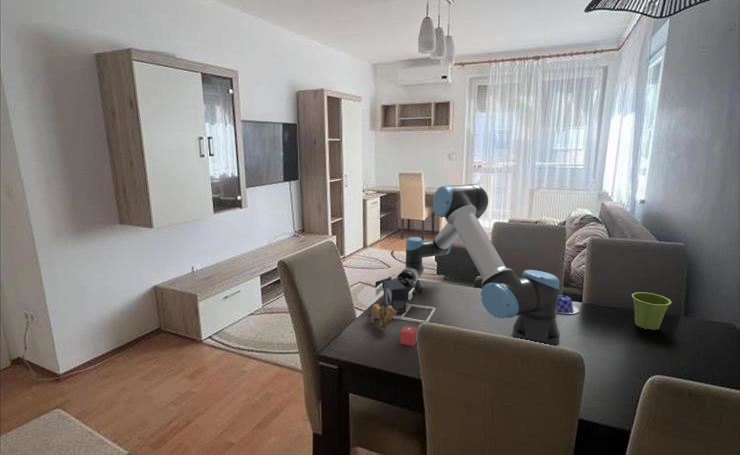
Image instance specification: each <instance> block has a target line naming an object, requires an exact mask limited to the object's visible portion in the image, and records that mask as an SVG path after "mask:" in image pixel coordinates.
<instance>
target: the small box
mask: <svg viewBox="0 0 740 455" xmlns="http://www.w3.org/2000/svg"><path fill="white" fill-rule="evenodd" d="M394 279H395V278H394ZM383 282H384V289H383V305H385V307H386V306H392V308H393V309H394V310H395V311H397V312H396V314H399V313H406V303H407V288H406V287H405V286H404V285H403V284H402V283H401V282H399V281H398V280H397V279H395V280H387V281H383ZM406 314H407V313H406Z"/></svg>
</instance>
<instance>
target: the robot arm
mask: <svg viewBox="0 0 740 455" xmlns="http://www.w3.org/2000/svg"><path fill="white" fill-rule="evenodd" d="M432 201H433V202H432V204H433V205H432V207H433V211H434V213H435V215H436V217H440V218H444V219H445V220H446V222H447V223H446V224H445V225H444V226H443V228H442V229H441V231H439V232H438V234H437V235H436V236H435V237H434V238H433V239H432V240H423V239H422V238H421V237H417V236H415V237H414V236H411V237H408V238H407V239H406V242H405V268H403V270H401V272H399V273H398V275H397V277H395V278H392V276H389V277H387V278H384V279H380V280H377V281H375V284H374V285H375V286H374V288H375V296H378V295H379V294H380V293H381V292H382V291H384V282H383V281H387V280H395V279H397V280H398V281H399V282H401V283H402V284H403V285H404V286H405V287H406V290H409V292H408V295H407V296H408V297H407V298H408V301H411V299H412V298H413V297H416V295H418V294H420V295H423V290H424V288H423V286H422V285H421V283H420V282H421V281H420V280H418V279H419V278H420V277H422V275H423V273H424V270H425V268H424V265H423V259H424V258H429V257H438V256H439V257H440V256H444V255H448V254H449V253H451V249H452V244H454V242H455V241H456V240H457V238H460V239H461V241H462V244H463V245H464V248H465V249H466V251H467V252H468V255H469V256H470V258H471V259H472V261H473V264H474V265H475V267H476V268H477V271H478V273H479V274H480V277H481V278H482V282H481V285H480V286H481V290H480V296H481V298H480V299H481V303H482V306H483V307H484V309H485V310H486V311H487V312H488V313H489V314H490V315H491V316H492V317H494V318H497V319H511V318H514V317H515V316H517V318H516V320H515V322H514V324H513V327H512V335H513V337H514V338H515V339H516V338H520V339H525V340H530V341H534V342H539V343H544V344H549V345H554V346H556V345H558V344H559V342H560V336H561V335H560V334H561V333H560V330H559V324H558V321H557V313H558V311H557V303H558V295H560V293H559V291H560V279H559V278H558V276H556V275H554V274H552V273H549V272H545V271H540V270H536V269H525V270H523V271H522V274H521V276H522V277H518V276H517V275H516V273H515V271H514V270H513V269H512V268H508V267H506V264H504V262H503V260H502V258H501V257H500V255H499V253H498V252H497V250H496V248H495V247H494V245H493V243H492V241H491V240H490V238H489V236H488V235H487V232H486V231H485V228H483V226H482V225H481V222H480V221H479V219H480V218H481V216H483V214H484V213H485V212H486V210H487V208H488V206H489V196H488V194H487V192H486V190H485V189H484V188H483V187H482V186H480V185H478V184H474V183H472V184H471V183H470V184H454V185H453V184H452V185H451V184H447V185H442V186H440V187H438V188H437V189H436V191H435V193H434V196H433V199H432Z"/></svg>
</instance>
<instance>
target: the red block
mask: <svg viewBox="0 0 740 455" xmlns="http://www.w3.org/2000/svg"><path fill="white" fill-rule="evenodd" d="M416 332H417V333H418V327H414V326H408V325H404V326H402V328H401V330H400V344H401V345H406V346H410V345H411V346H412V347H413V346H414V345H416V343H417V341H416Z"/></svg>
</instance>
